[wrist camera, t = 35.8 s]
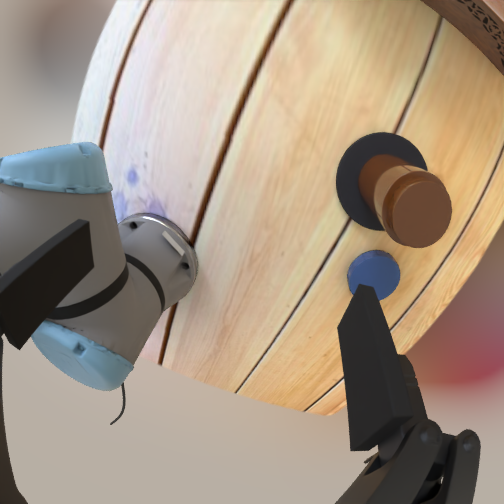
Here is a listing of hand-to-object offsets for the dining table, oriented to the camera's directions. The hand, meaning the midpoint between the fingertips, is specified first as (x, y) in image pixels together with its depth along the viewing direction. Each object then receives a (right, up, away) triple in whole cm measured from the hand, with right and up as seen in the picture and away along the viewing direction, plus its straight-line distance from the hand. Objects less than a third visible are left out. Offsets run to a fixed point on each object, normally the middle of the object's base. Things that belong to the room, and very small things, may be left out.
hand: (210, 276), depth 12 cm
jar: (+19, +10, +19) cm, 28 cm away
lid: (+19, -3, +24) cm, 31 cm away
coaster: (+19, +10, +19) cm, 28 cm away
